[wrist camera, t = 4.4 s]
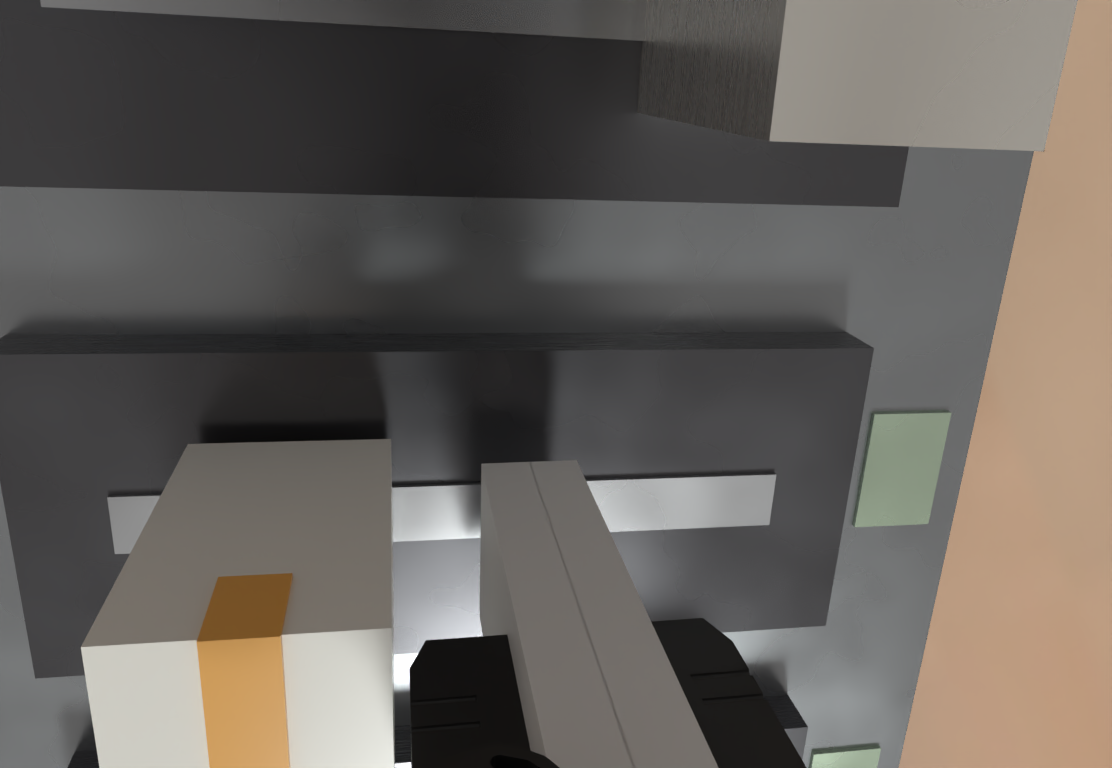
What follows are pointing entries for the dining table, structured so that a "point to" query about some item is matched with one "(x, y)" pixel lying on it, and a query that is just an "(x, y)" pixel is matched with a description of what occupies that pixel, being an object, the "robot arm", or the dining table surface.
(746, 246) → the panel
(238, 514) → the block
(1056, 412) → the dining table surface
